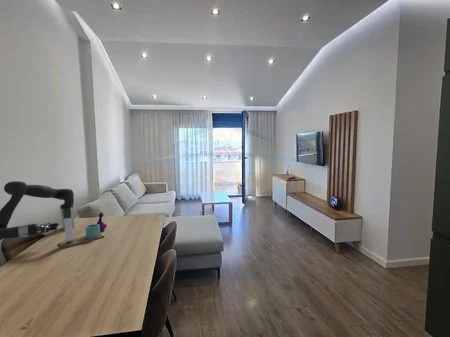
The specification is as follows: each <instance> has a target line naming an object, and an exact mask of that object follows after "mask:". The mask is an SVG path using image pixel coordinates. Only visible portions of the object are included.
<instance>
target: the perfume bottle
mask: <svg viewBox="0 0 450 337" xmlns="http://www.w3.org/2000/svg"><path fill="white" fill-rule="evenodd" d="M95 211H96V212H98V211H99V213H98V217H99V218H98V221H97V222H96V224H99V225H100V233H102V232H103V231H105V229H106V228H107V226H108V225H107V224H106V223H105V222H103V221H102V220H103V219H102V218H103V216H104V212H102V210H101V209H100V208H97V209H96V210H95Z"/></svg>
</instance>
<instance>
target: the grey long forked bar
mask: <svg viewBox="0 0 450 337" xmlns="http://www.w3.org/2000/svg"><path fill="white" fill-rule="evenodd" d="M63 218H64V226H65V229H64V235H65V241H66V243H67V244H70V243H72V240H73V239H74V238H73V236H74V235H73V228H72V224H71V208H70V209H63Z"/></svg>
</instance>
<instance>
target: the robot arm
mask: <svg viewBox="0 0 450 337" xmlns="http://www.w3.org/2000/svg"><path fill="white" fill-rule="evenodd" d="M3 190H4V192H5V193H6V194H8V195H11V197H10V198H9V200H8V201H7V202H6V203H5V205H4V206H3V207H2V208H0V241H2V240H4V239H17V238H26V237H31V236H37V235H38V234H44V233H49V232H51V231H56V230H58V227H59V223H58V222H54V223H51V222H47V223H41V224H40V225H38V224H37V223H30V224H23V225H19V226H13V227H8V225H9V223H10V220H11V218H12V217H13V216H12V215H13V213H14V212H15V209H16V208H17V207H18V205H19V204H20V202H21V200H22V199H23V197H24V196H28V197H33V198H40V199H49V198H50V199H57V200H59V201H64V203H62V204H60V205H59V209H60V221H61V229H62V230H65V226H64V218H63V209H70V208H71V224H72V229H74V228H75V226H76V224H75V212H74V203H75V200H74V199H75V198H74V197H75V196H74V195H75V194H74V191H73V189H70V188H52V187H51V186H47V185H42V184H27V183H26V182H24V181H21V180H20V181H17V180H15V181H13V180H12V181H8V182H6V183H5V184H4V187H3Z"/></svg>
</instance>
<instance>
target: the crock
mask: <svg viewBox="0 0 450 337" xmlns="http://www.w3.org/2000/svg"><path fill="white" fill-rule="evenodd" d="M84 228H85V236H86V238H88V239H92V238H97V237H99V236H100V234H101V232H100V225H99V224H97V223H93V224H88V225H86V226H84Z"/></svg>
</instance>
